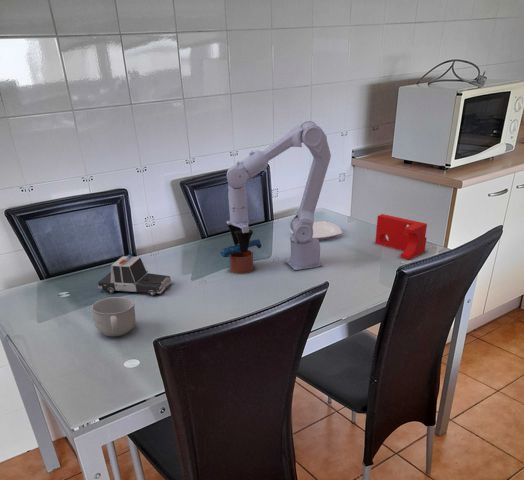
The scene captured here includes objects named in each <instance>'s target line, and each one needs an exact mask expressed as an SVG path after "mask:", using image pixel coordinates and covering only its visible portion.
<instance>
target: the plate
mask: <svg viewBox="0 0 524 480" xmlns="http://www.w3.org/2000/svg"><path fill="white" fill-rule="evenodd" d="M289 228H290V229H289V230H290V233H292V234H293V231H292V230H291V227H289ZM342 234H343V231H342V229H341V227H340V226H339V225H338V224H335V223H332V222H330V221H325V220H324V221H314V223H313V236H312V238H314V237H316V238H317V239H318V240H319V241H320V240H327V239H330V238H335V237H336V236H340V235H342Z"/></svg>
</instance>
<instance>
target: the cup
mask: <svg viewBox="0 0 524 480" xmlns="http://www.w3.org/2000/svg"><path fill="white" fill-rule="evenodd" d="M228 259H229V269H230V270H229V271H231V272H232V273H235V274H247V273H250V272H252V271H254V269H255V268H254V266H255V265H254V251H252V250H251V249H248V251H247V252H240V253H238V254H234V255H233V254H230V256H229V257H228Z"/></svg>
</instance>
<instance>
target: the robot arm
mask: <svg viewBox="0 0 524 480" xmlns="http://www.w3.org/2000/svg"><path fill="white" fill-rule="evenodd" d="M303 145H304V146H305V147H306V148H307V149H308V150H309V152H310V154H311V156H312V163H311V165H310V168H309V173H308V177H307V179H306V183H305V186H304V191H303V194H302V198H301V201H300V205H299V207H298V209H297V210H296V214H295V215H294V217H293V218H292V219H291V222H290V225H289V226H290V227H291V230H292V231H293V233H292V235H291V236H290V260H286V264H287V265H288V266H289V267H290V268H292V269H293V270H294V271H301V270H306V269H312V268H313V269H314V268H319V267H321V266H322V264H321V243H320V239H319V240H318V239H317V238H316V237H314V238H312V236H313V223H314V222H315V212H316V209H317V206H318V201H319V198H320V195H321V192H322V189H323V184H324V181H325V178H326V174H327V173H328V168H329V165H330V161H331V157H332V154H331V150H330V146H329V143H328V137H327V135H326V133H325V131H324V130H323V129H322V127H321V126H319V125H317V124H316V123H315V122H314V121H312V120H307V121H304V122H302V123H301V124H300V125H297V126H295V127H294V128H291V130H289V131H288V132H286V133H285V134H284V135H283V136H281V137H280V138H279V139H277V140H276V141H275V142H273V143H272V144H271V145H270V146H267V148H266V149H264V150H258V149H257V150H255V151H253V150H251V151H250V152H249V153H248V154H249V155H248V156H246V157H245V158H243V160H241V161H236V163H235V164H236V165H232V166H230V167H229V168H228V169H227V172H226V180H227V184H228V185H227V189H228V192H227V198H228V207H229V208H228V209H229V211H228V212H229V220H226V225H227V227H228V229H229V231H230V234H231V239H232V241H233V244H234V245H236V244H238V243H239V247H240V251H241V252H247V251H248V250H249V248H248V246H249V241H251V238H252V236H253V233H254V230H252V229H250V226H249V223H250V221H249V213H248V193H247V190H246V184H247V181H248V180H251V179H253V178H254V177H255V176H257V175H258V174H260V173H261V172H263V171H264V170H266V169H267V168H268V165H269V162H270V161H271V160H273V159H274V158H276V157H277V156H279V155H281V154H283V153H284V152H286V151H287V150H289V149H291V148H302V147H303ZM290 227H289V228H290ZM291 230H290V231H291Z"/></svg>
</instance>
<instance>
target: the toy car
mask: <svg viewBox="0 0 524 480" xmlns="http://www.w3.org/2000/svg"><path fill="white" fill-rule="evenodd" d="M148 272H149V271H148V270H147V269H146V267H145V264H144V262H143V260H142V257H141V256H133V255H132V254H127V255H123V256H121V257H120V258H118V259H117V260H116V261H115V262H114V263H112V264H111V265H110V272H109V273H108V274H106V275H105V276H104V277H103V278H102V279H101V280H99V281H98V282H97V284H98V285H97V288H98V289H100V290H104V291H108V293H109V294H114V293H115V291H118V292H131V293H132V292H134V293H148V294H149V296H150V297H154V296H155V295H156V294H162V293H163V292H164V291H165V290H166V289H167V288H168V287H169V286H170V284H171V283H172V281H173V280H172V279H171V275H164V274H158V273H157V274H156V273H150V272H149V273H148Z"/></svg>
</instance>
